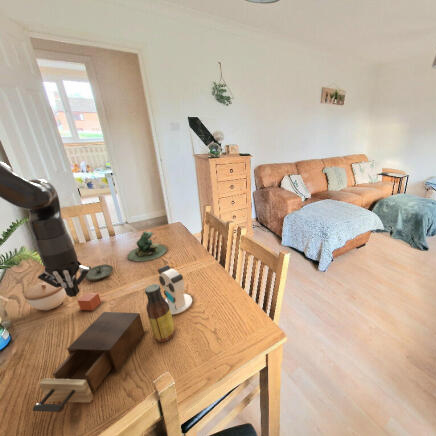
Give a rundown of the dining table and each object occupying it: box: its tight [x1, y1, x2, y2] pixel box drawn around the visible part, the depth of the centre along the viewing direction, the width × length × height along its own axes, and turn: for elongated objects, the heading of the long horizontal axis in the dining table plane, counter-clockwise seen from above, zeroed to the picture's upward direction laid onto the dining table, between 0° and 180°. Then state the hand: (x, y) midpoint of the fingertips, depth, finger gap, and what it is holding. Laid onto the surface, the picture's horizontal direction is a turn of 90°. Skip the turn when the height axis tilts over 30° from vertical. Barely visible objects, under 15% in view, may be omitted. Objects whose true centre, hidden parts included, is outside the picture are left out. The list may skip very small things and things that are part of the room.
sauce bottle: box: [144, 283, 176, 343], centre depth 76 cm, size 6×6×20 cm
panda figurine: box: [157, 264, 193, 315], centre depth 91 cm, size 12×11×15 cm
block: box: [77, 292, 102, 311], centre depth 90 cm, size 4×4×4 cm
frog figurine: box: [127, 231, 168, 262], centre depth 126 cm, size 18×18×12 cm
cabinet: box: [66, 311, 145, 372], centre depth 73 cm, size 14×12×9 cm
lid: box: [84, 264, 114, 282], centre depth 107 cm, size 11×10×5 cm
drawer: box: [31, 351, 113, 413], centre depth 62 cm, size 17×10×7 cm, turn 0°
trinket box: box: [23, 281, 67, 311], centre depth 89 cm, size 11×11×9 cm
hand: (74, 295), depth 77 cm, fingers closed
